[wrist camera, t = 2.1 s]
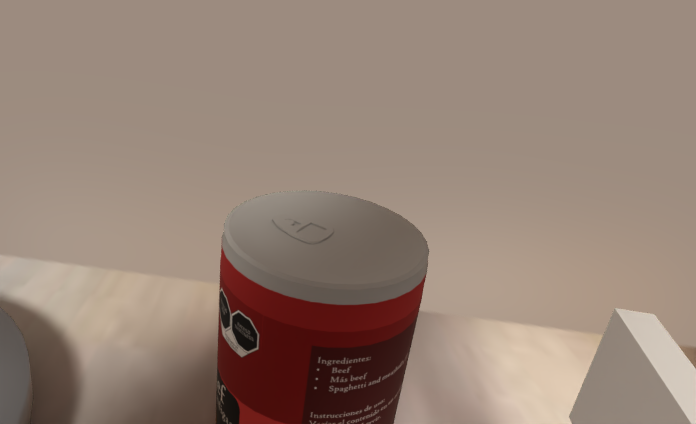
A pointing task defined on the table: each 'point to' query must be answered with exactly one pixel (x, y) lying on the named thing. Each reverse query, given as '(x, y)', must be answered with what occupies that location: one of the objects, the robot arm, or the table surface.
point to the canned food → (316, 309)
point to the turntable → (14, 374)
